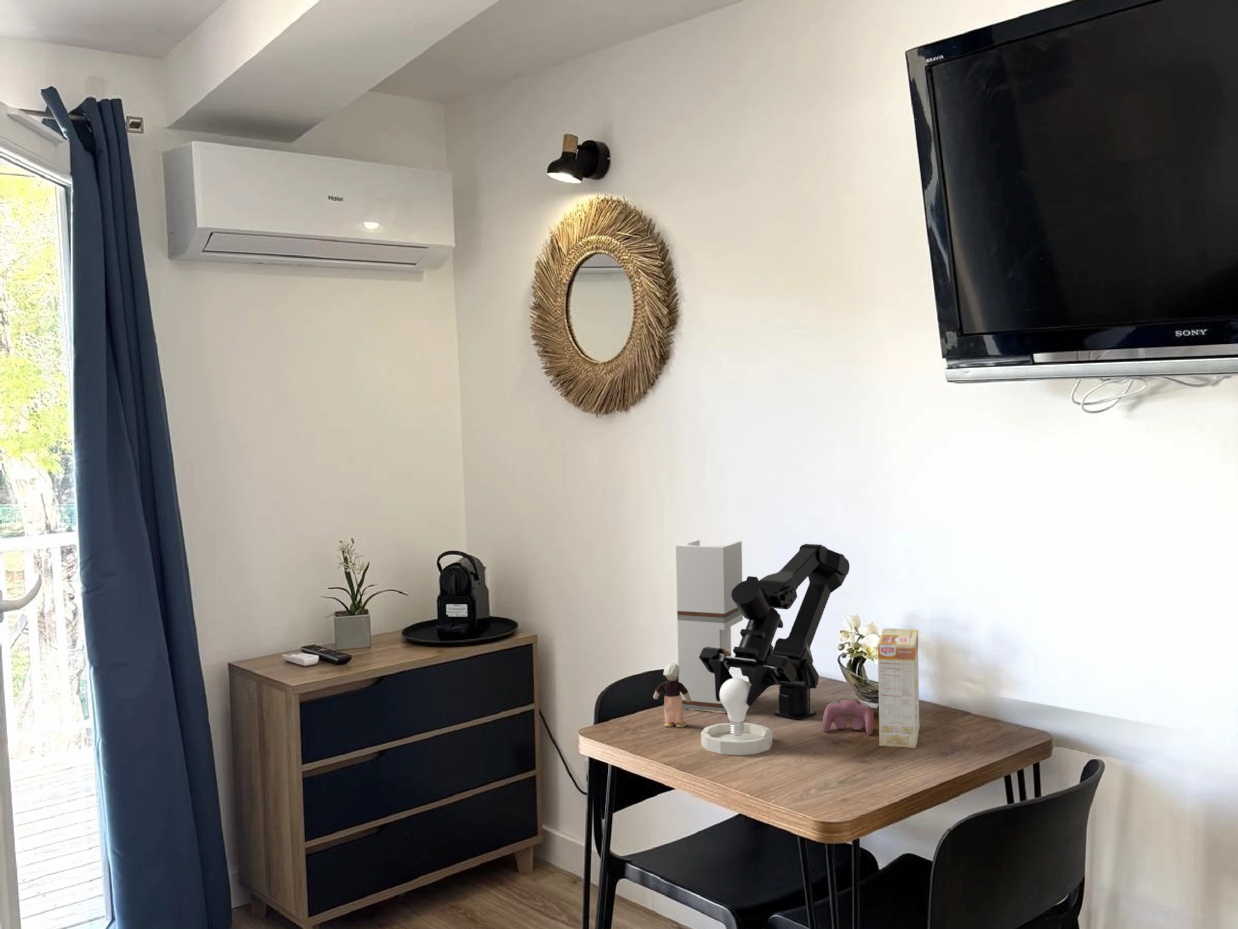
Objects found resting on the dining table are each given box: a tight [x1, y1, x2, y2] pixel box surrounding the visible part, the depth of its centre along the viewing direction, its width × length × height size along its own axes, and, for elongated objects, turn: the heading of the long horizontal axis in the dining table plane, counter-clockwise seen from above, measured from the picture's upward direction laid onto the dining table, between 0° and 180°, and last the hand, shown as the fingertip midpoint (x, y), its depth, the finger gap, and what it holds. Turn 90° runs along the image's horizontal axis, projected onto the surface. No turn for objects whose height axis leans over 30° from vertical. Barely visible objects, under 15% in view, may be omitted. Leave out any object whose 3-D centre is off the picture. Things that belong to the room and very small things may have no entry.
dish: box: [700, 722, 773, 756], centre depth 214 cm, size 13×13×2 cm
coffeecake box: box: [877, 627, 920, 749], centre depth 217 cm, size 15×7×20 cm, turn 162°
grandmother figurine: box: [653, 662, 691, 728], centre depth 227 cm, size 8×4×13 cm, turn 84°
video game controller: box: [822, 699, 875, 736], centre depth 222 cm, size 10×5×7 cm, turn 72°
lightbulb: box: [719, 677, 751, 736], centre depth 214 cm, size 6×6×11 cm
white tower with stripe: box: [675, 539, 744, 712], centre depth 242 cm, size 11×11×35 cm
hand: (732, 702), depth 212 cm, fingers closed on lightbulb, 6 cm apart
